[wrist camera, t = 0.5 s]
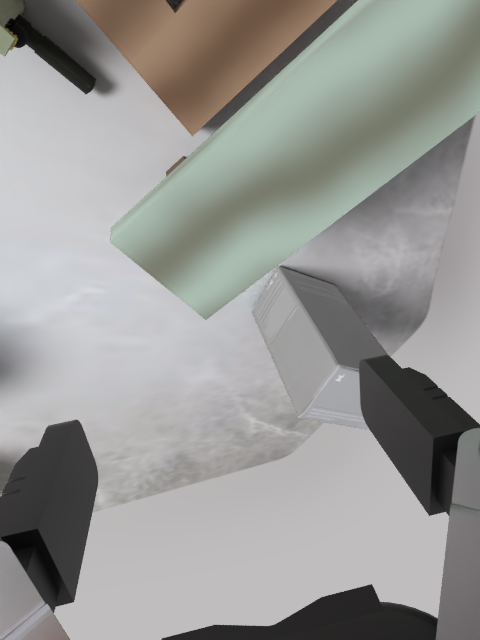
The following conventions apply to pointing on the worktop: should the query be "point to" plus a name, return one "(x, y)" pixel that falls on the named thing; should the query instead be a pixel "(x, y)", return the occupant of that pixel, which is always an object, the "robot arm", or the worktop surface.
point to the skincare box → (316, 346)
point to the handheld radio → (38, 44)
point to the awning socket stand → (283, 123)
